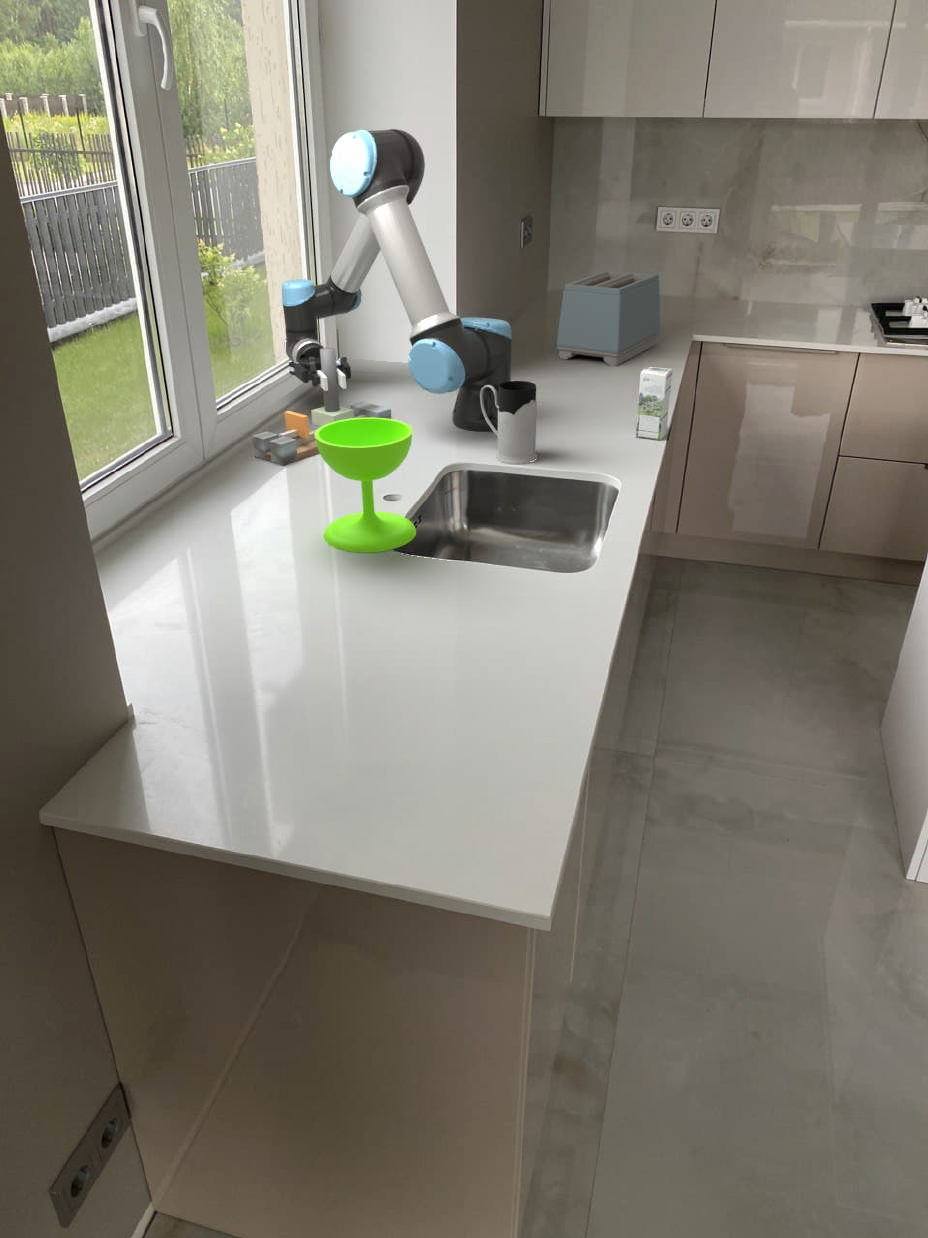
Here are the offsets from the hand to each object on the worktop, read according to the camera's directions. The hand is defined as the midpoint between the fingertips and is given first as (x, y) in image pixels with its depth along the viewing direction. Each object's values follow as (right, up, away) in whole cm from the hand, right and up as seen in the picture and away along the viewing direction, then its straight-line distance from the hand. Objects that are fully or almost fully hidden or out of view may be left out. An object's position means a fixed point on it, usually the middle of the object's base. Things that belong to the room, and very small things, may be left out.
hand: (335, 382), depth 198 cm
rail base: (-3, -11, +9) cm, 14 cm away
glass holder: (+36, -15, +1) cm, 39 cm away
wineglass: (+11, -35, -35) cm, 50 cm away
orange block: (-9, -11, +1) cm, 15 cm away
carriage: (-2, -7, +9) cm, 11 cm away
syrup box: (+68, -9, +11) cm, 70 cm away
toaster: (+70, +29, +81) cm, 111 cm away
